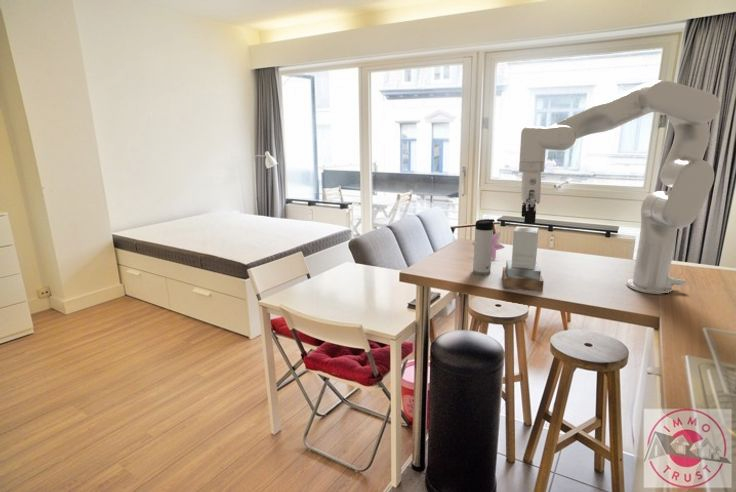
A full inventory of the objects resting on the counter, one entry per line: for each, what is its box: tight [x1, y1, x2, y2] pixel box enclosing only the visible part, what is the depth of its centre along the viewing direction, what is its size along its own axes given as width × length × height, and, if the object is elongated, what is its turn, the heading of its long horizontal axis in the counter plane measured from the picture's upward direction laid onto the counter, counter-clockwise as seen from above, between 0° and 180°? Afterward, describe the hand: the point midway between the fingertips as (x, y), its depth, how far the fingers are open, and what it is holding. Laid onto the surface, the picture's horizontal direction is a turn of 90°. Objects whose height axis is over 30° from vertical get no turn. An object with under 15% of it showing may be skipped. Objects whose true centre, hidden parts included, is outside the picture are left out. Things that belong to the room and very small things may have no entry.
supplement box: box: [511, 226, 540, 269], centre depth 143 cm, size 7×7×13 cm
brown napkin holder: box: [501, 259, 544, 292], centre depth 146 cm, size 12×12×6 cm
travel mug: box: [472, 218, 496, 276], centre depth 155 cm, size 6×7×20 cm
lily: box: [471, 232, 505, 261], centre depth 177 cm, size 12×12×10 cm
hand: (527, 219), depth 140 cm, fingers open, 9 cm apart
